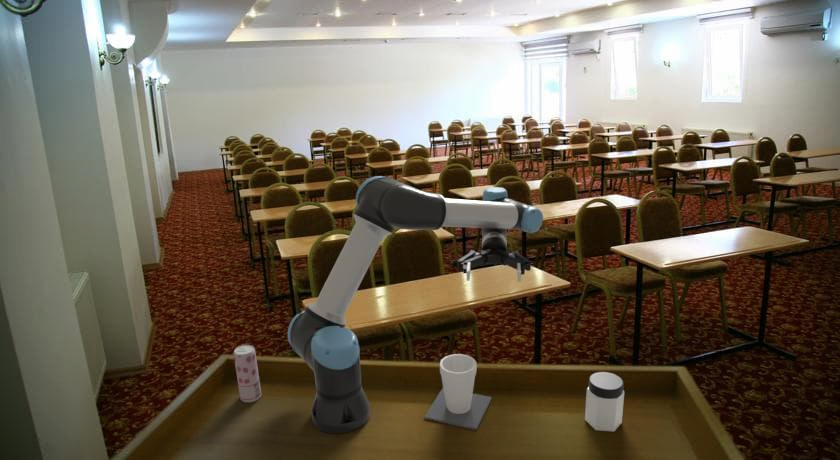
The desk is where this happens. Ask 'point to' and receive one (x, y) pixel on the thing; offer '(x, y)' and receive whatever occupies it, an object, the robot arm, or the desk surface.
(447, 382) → the foam cup
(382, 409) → the desk surface
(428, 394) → the desk surface
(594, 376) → the jar
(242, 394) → the beverage can
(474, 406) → the charcoal mat
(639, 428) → the desk surface
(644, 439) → the desk surface
